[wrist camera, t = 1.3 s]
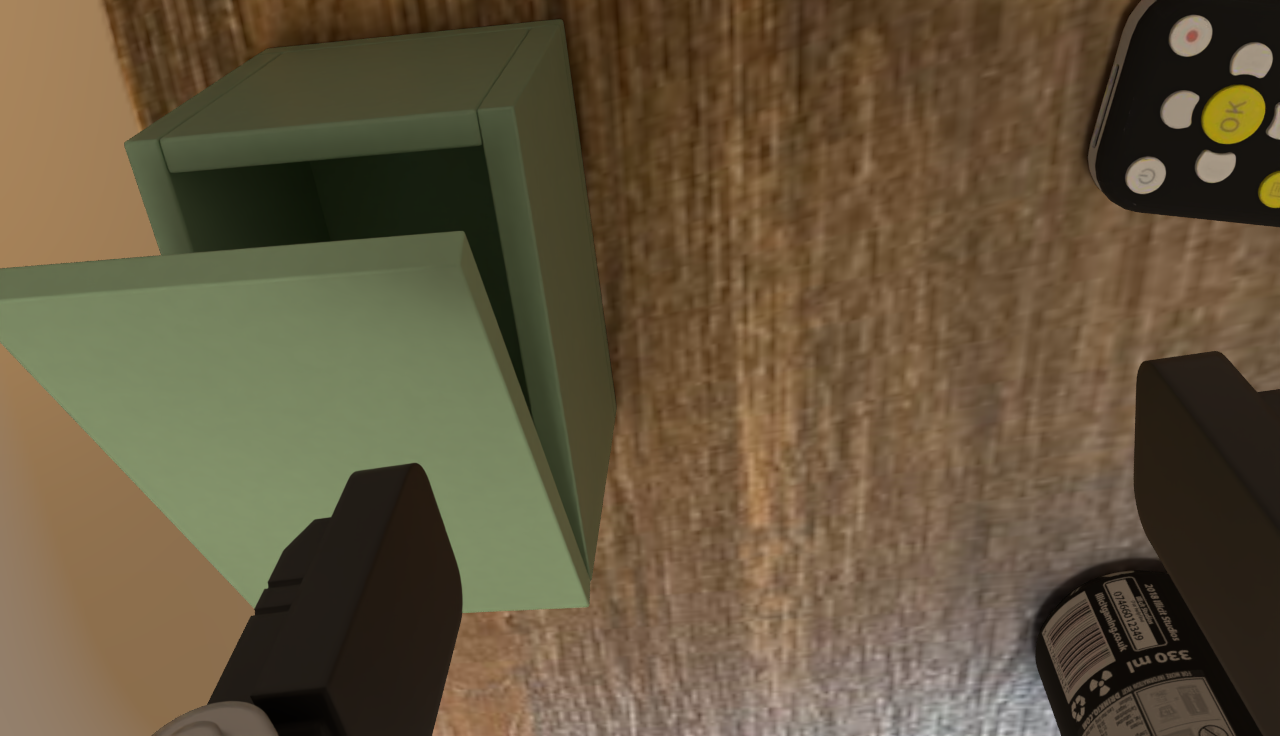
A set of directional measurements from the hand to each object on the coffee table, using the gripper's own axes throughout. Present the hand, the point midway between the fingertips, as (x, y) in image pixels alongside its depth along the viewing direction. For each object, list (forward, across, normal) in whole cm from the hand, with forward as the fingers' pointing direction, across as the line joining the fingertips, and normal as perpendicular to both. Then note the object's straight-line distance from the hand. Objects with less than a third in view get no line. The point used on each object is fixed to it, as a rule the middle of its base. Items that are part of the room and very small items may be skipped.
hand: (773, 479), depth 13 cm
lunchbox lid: (+9, +9, +5) cm, 14 cm away
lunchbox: (+21, +9, +4) cm, 23 cm away
